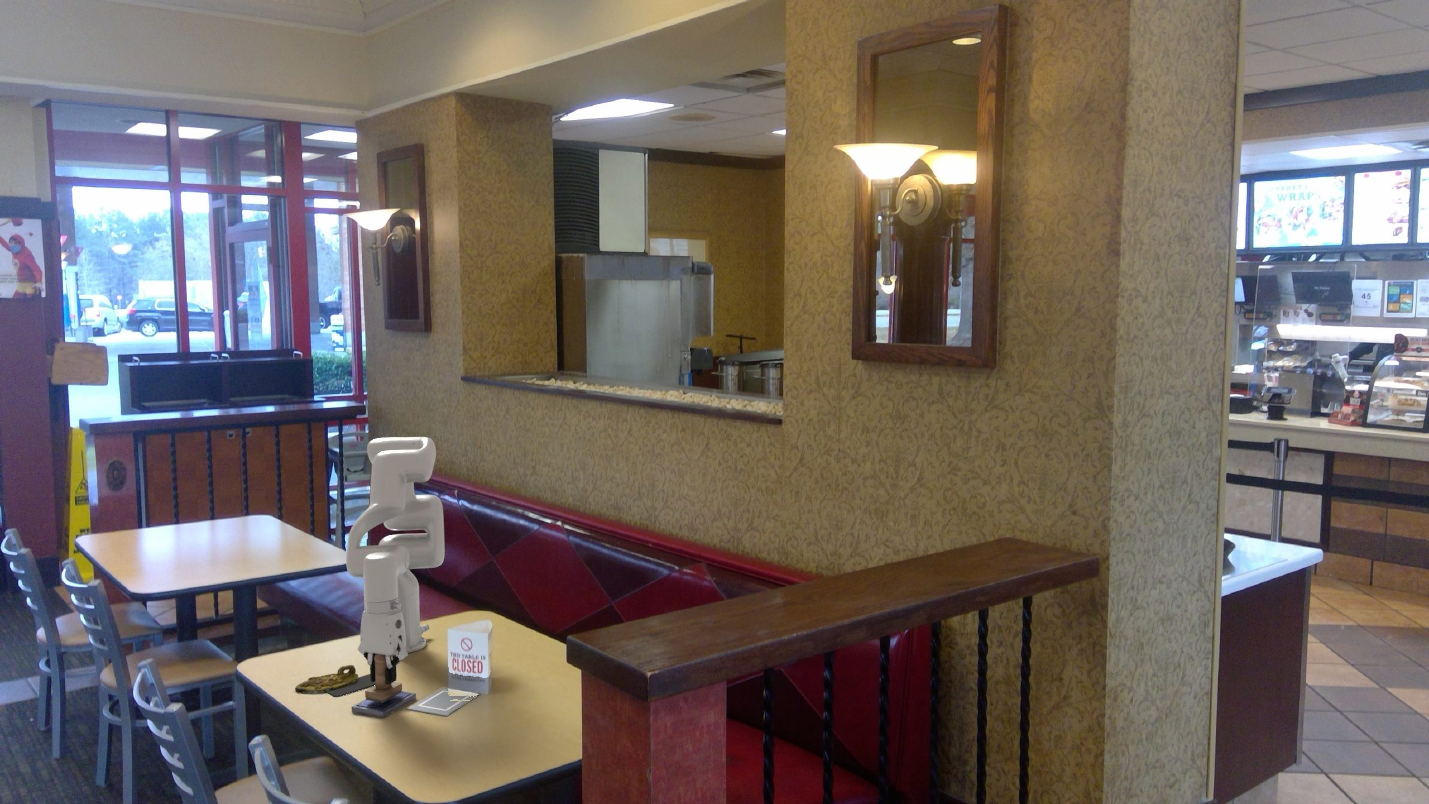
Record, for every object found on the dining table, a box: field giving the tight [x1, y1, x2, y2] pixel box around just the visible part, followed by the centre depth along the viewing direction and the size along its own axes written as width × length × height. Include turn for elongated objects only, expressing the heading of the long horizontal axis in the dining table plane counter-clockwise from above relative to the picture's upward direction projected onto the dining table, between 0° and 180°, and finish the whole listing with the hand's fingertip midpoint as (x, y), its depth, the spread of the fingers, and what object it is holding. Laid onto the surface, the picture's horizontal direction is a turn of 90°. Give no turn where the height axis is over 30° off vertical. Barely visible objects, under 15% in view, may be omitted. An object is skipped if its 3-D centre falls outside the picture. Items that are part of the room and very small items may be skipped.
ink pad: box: [351, 690, 417, 719], centre depth 239 cm, size 12×9×2 cm
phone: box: [325, 673, 376, 698], centre depth 251 cm, size 7×1×15 cm
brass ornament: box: [294, 664, 359, 695], centre depth 251 cm, size 9×5×15 cm
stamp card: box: [406, 686, 477, 717], centre depth 241 cm, size 14×11×1 cm
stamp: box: [364, 654, 403, 703], centre depth 238 cm, size 7×5×11 cm
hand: (383, 680), depth 238 cm, fingers closed on stamp, 3 cm apart
